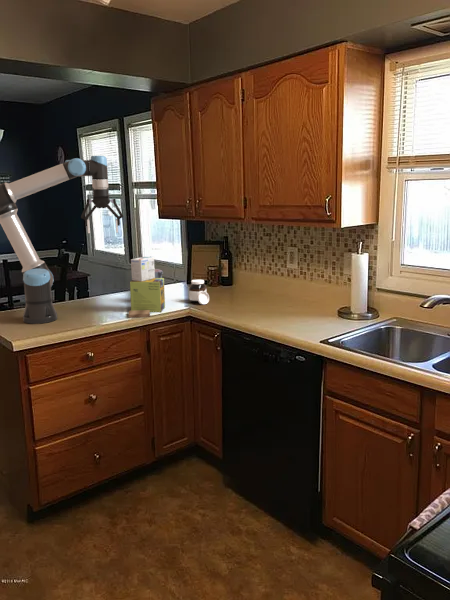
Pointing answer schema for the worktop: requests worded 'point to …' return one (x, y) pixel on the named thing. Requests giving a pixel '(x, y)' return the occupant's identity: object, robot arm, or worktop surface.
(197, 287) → the spread jar
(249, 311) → the worktop surface
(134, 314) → the walnut coaster board
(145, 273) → the light bulb box
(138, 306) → the protein box
